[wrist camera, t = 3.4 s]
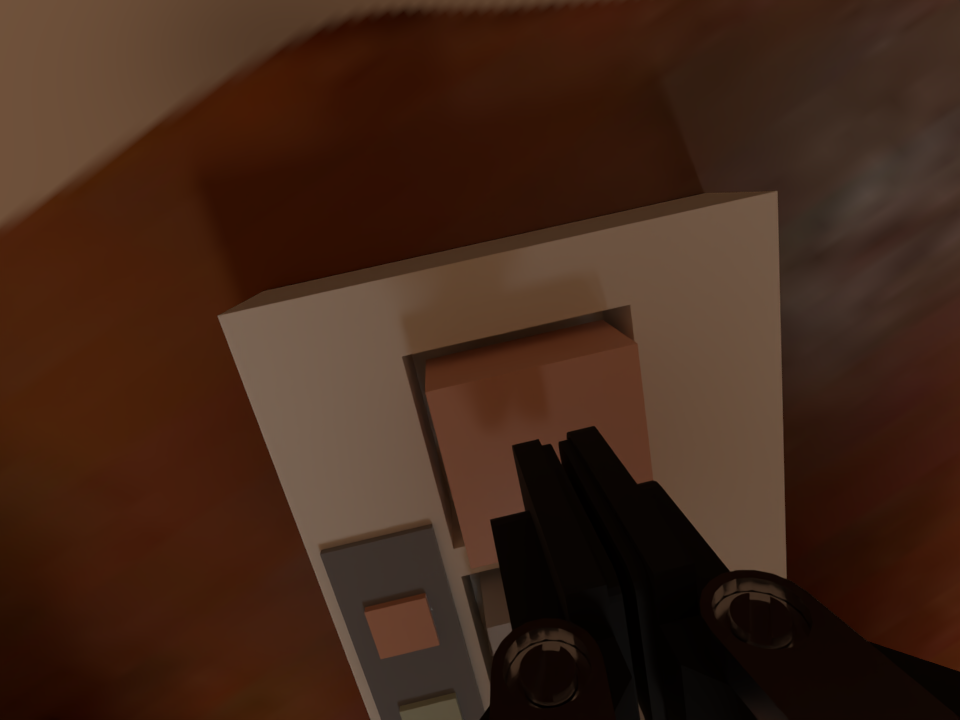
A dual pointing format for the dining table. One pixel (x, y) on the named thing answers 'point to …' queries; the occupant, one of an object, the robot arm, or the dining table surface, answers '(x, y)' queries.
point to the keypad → (491, 320)
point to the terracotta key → (531, 415)
